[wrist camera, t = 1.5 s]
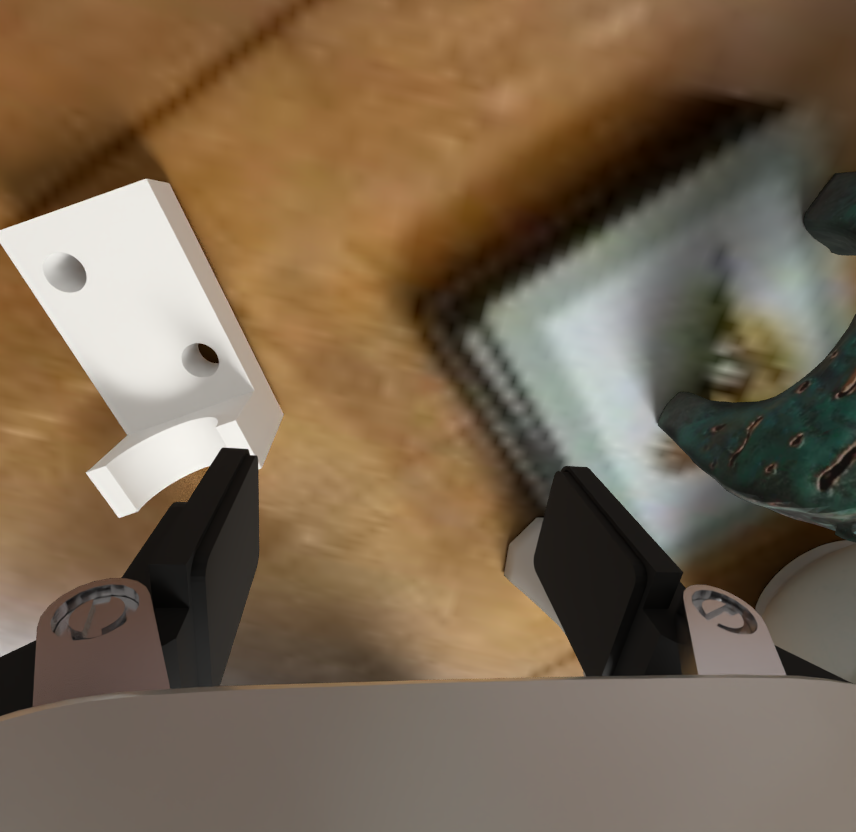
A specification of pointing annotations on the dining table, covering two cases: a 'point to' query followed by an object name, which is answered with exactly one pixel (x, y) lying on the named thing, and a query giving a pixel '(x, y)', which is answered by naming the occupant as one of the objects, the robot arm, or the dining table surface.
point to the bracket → (147, 336)
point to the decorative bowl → (816, 608)
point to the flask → (528, 568)
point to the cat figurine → (789, 414)
